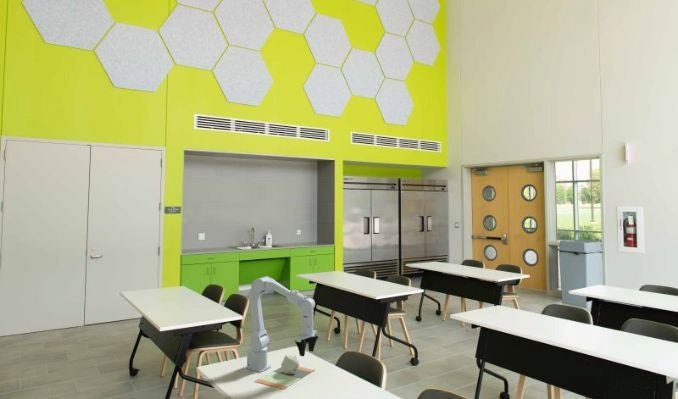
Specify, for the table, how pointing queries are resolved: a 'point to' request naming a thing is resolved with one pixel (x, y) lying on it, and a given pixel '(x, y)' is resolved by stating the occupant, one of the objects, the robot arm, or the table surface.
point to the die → (290, 364)
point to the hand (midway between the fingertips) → (306, 353)
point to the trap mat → (283, 377)
